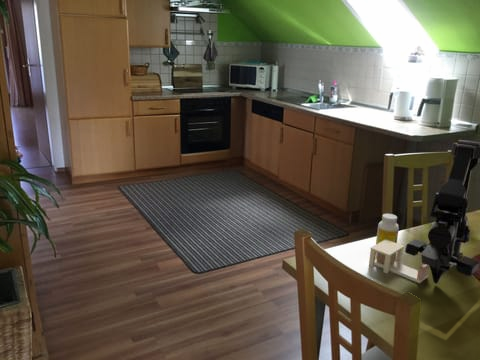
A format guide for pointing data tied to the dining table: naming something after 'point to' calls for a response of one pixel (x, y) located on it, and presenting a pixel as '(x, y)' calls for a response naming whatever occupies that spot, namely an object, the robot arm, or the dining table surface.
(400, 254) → the small table
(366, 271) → the dining table surface
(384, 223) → the supplement bottle
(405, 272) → the sled
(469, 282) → the dining table surface
